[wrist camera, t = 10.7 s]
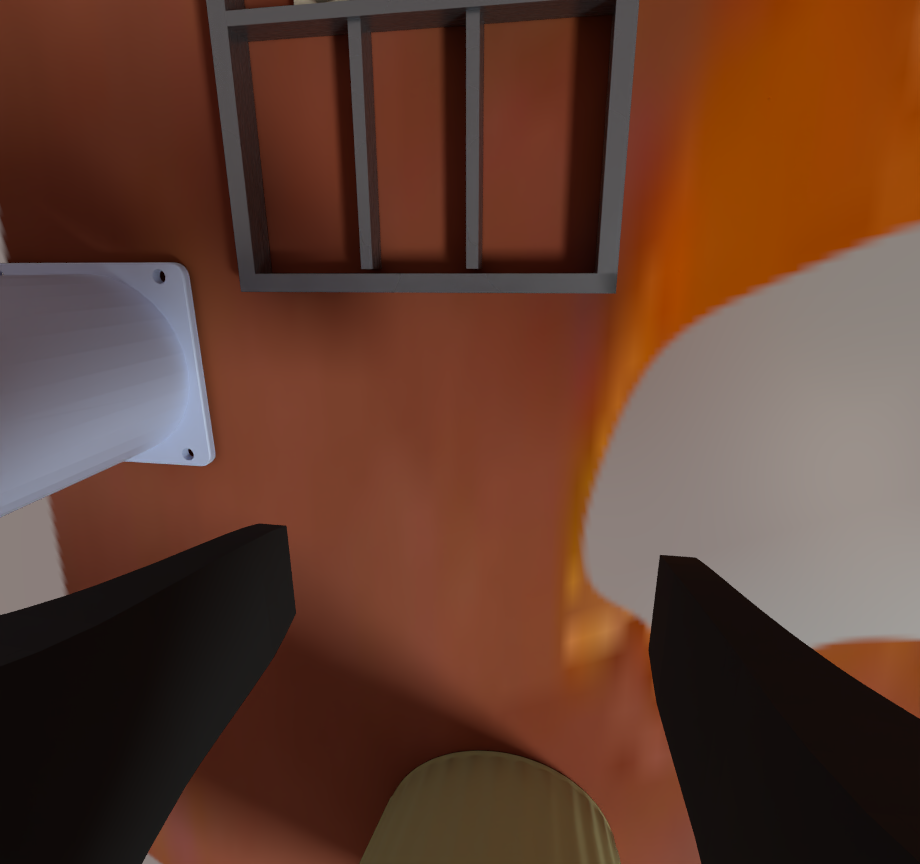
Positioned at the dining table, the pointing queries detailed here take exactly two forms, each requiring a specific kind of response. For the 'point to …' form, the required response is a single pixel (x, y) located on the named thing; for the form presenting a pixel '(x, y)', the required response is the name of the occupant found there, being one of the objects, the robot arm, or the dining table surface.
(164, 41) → the dining table surface
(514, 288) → the metal rack
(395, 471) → the dining table surface
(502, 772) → the potted cactus
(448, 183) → the dining table surface
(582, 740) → the dining table surface
